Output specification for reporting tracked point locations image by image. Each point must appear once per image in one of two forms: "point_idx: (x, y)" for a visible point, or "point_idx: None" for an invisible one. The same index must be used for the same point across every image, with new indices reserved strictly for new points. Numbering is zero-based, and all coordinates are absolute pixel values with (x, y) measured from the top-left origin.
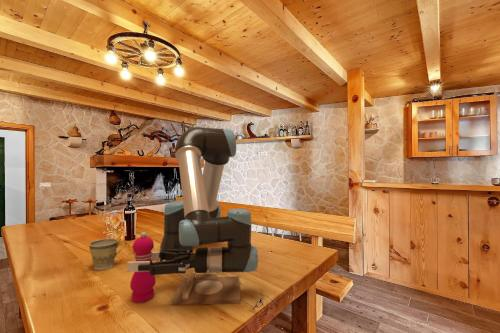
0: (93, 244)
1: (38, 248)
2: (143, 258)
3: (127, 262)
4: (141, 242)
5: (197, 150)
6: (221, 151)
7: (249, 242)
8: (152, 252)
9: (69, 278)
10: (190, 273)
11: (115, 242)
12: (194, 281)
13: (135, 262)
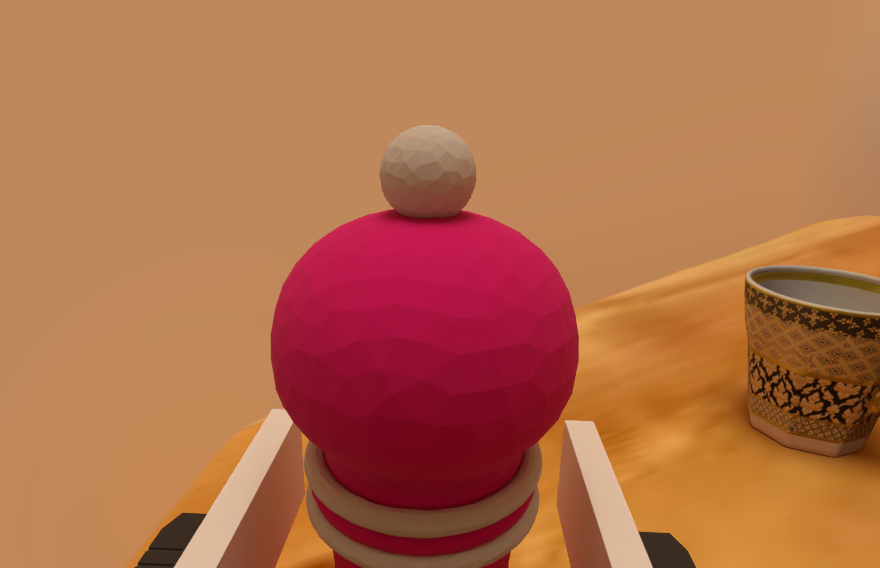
0: (803, 283)
1: (804, 264)
2: (310, 493)
3: (275, 409)
4: (301, 257)
5: None
6: None
7: None
8: (615, 543)
9: (627, 376)
10: None
11: (875, 314)
12: None
13: (243, 460)
